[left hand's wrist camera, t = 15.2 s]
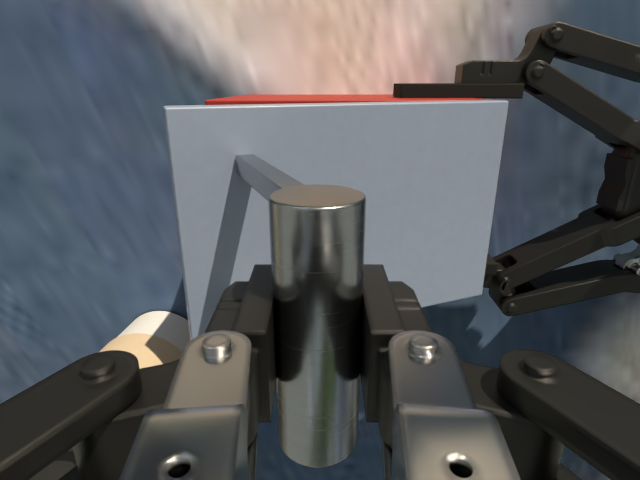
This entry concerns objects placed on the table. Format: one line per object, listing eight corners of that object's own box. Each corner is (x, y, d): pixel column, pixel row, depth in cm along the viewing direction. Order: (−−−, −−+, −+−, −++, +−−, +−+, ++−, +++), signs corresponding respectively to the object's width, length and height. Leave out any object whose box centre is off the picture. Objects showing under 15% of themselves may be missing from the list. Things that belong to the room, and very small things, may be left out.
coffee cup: (174, 404, 40) (90, 576, 26) (93, 345, 38) (-45, 497, 24) (237, 345, 38) (182, 499, 24) (154, 279, 36) (41, 404, 22)
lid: (190, 341, 19) (234, 548, 10) (162, 105, 15) (192, 131, 7) (466, 285, 24) (645, 394, 15) (489, 99, 20) (732, 110, 12)
